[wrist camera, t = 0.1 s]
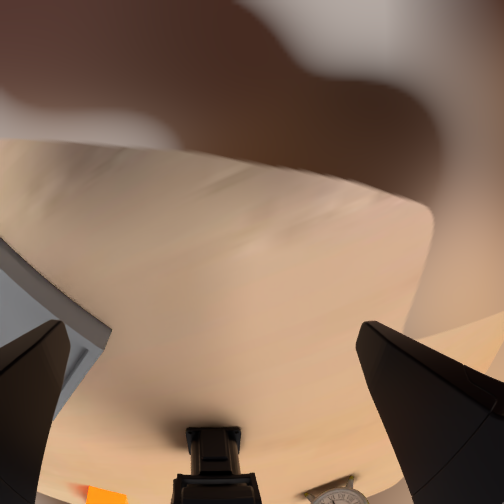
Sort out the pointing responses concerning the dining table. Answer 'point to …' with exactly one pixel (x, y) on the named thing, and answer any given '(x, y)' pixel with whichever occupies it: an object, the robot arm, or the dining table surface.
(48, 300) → the tray
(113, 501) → the orange juice
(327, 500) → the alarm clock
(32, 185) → the dining table surface
